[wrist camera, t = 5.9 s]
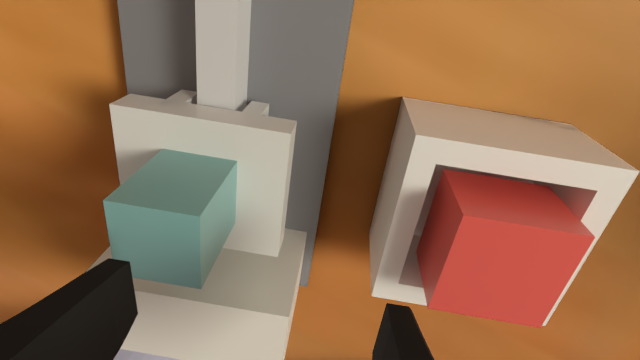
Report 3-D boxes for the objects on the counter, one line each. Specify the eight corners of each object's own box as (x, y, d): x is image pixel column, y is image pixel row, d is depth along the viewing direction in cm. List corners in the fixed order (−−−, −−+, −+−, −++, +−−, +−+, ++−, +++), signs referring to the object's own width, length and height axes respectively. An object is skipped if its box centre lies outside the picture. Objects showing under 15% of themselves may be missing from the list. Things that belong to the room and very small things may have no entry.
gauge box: (507, 255, 22) (544, 325, 17) (369, 232, 22) (371, 296, 17) (570, 123, 18) (639, 171, 13) (402, 96, 18) (416, 134, 14)
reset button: (509, 267, 18) (540, 327, 15) (416, 251, 18) (427, 308, 15) (549, 186, 16) (595, 237, 13) (443, 168, 16) (463, 215, 13)
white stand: (309, 275, 24) (291, 379, 18) (153, 248, 24) (81, 341, 18) (399, -278, 12) (439, -537, 6) (99, -321, 12) (-156, -616, 6)
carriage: (289, 218, 20) (256, 329, 14) (158, 196, 20) (66, 296, 14) (302, 108, 17) (268, 184, 11) (149, 84, 17) (27, 144, 11)
